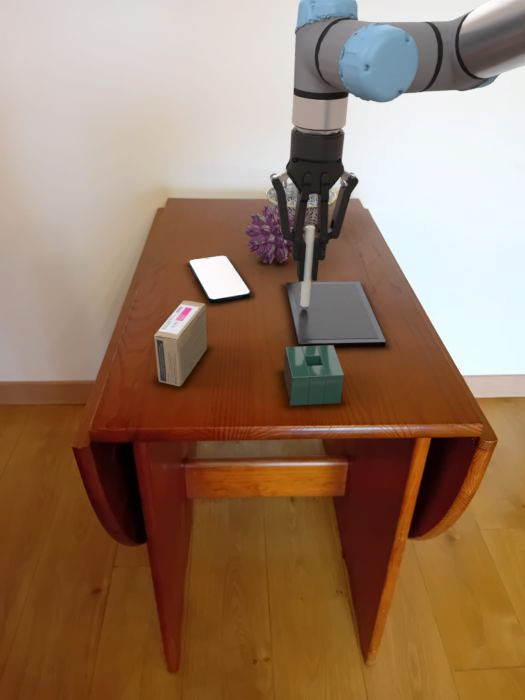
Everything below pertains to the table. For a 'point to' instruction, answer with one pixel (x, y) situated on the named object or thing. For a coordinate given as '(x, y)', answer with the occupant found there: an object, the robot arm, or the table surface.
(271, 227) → the flower
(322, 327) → the tablet
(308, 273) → the stylus
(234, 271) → the smartphone
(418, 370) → the table surface
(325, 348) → the pen block
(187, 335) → the ink box
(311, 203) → the bowl
